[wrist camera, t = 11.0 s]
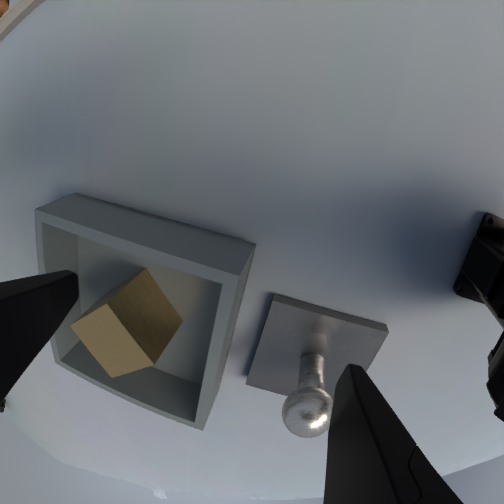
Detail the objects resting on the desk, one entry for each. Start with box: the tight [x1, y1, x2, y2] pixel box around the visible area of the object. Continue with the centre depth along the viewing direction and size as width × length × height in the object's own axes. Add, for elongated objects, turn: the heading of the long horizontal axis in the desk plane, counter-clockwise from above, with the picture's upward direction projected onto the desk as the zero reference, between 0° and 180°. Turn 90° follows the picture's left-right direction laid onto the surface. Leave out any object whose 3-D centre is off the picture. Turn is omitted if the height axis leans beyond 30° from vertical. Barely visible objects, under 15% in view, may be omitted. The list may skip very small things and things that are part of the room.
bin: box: [35, 193, 256, 431], centre depth 23 cm, size 16×16×5 cm
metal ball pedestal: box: [246, 294, 389, 438], centre depth 21 cm, size 9×9×8 cm
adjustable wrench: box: [0, 0, 45, 42], centre depth 17 cm, size 25×6×2 cm, turn 99°
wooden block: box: [70, 268, 184, 378], centre depth 23 cm, size 5×5×6 cm
